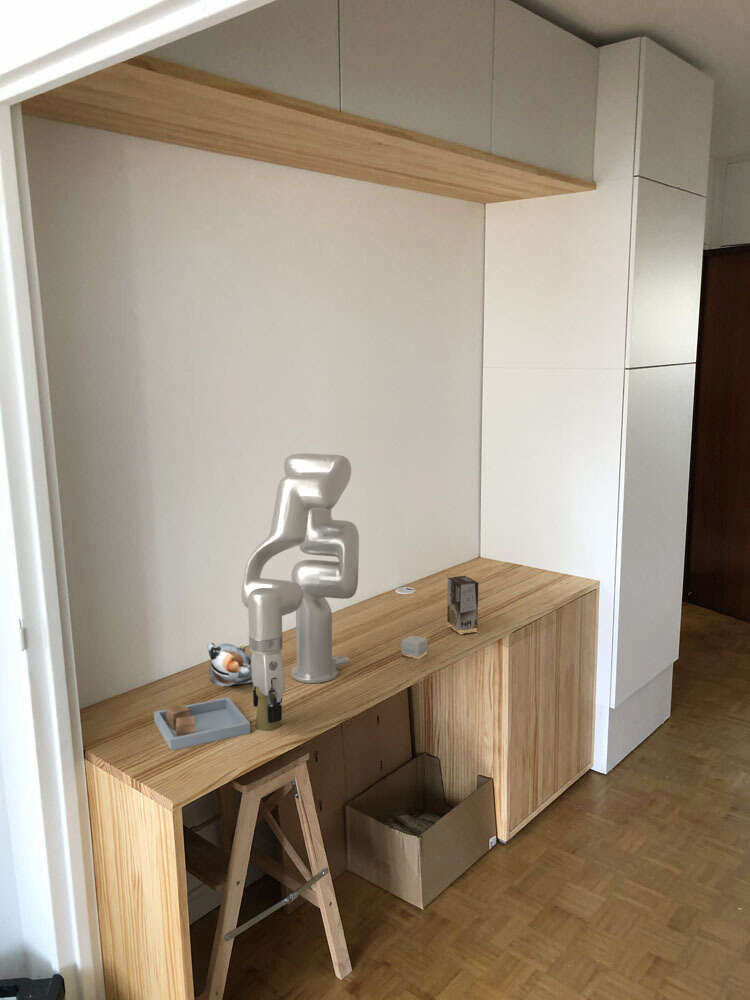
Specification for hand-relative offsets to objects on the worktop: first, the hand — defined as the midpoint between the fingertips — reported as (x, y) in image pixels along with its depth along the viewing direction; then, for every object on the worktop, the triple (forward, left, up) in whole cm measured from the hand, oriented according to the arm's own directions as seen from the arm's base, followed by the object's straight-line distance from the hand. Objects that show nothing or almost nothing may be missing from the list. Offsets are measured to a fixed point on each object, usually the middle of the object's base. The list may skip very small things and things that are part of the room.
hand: (267, 713), depth 191 cm
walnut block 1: (+18, -10, -3) cm, 21 cm away
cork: (0, 0, -4) cm, 4 cm away
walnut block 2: (+18, -3, -3) cm, 19 cm away
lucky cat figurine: (-2, -29, -4) cm, 29 cm away
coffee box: (-77, -36, -4) cm, 85 cm away
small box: (-53, -24, -4) cm, 59 cm away
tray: (+14, -6, -4) cm, 16 cm away
